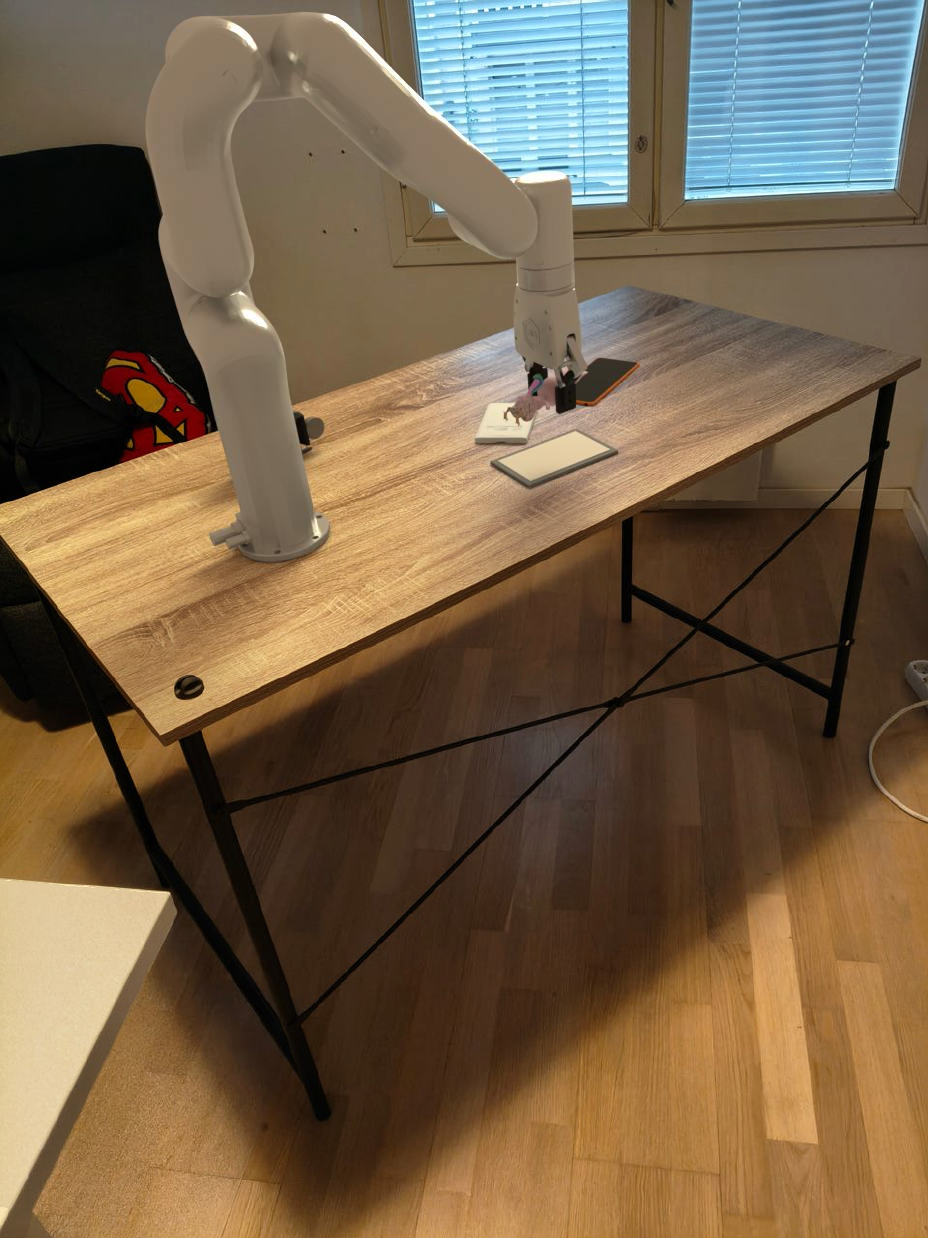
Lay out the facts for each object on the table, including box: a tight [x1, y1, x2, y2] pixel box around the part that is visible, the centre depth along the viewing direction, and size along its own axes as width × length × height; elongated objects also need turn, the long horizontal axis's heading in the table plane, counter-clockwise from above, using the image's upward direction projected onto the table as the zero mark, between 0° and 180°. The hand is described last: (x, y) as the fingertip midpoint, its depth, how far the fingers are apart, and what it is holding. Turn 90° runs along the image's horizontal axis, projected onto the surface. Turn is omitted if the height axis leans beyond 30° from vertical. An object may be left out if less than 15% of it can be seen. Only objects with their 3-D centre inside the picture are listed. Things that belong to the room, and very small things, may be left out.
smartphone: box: [576, 357, 640, 407], centre depth 162 cm, size 8×18×1 cm, turn 147°
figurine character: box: [292, 409, 325, 454], centre depth 148 cm, size 7×8×15 cm
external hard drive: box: [474, 402, 538, 444], centre depth 151 cm, size 2×8×12 cm
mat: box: [489, 428, 619, 489], centre depth 141 cm, size 16×10×1 cm, turn 122°
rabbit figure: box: [503, 367, 588, 427], centre depth 134 cm, size 6×6×15 cm
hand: (552, 402), depth 136 cm, fingers closed on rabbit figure, 5 cm apart
